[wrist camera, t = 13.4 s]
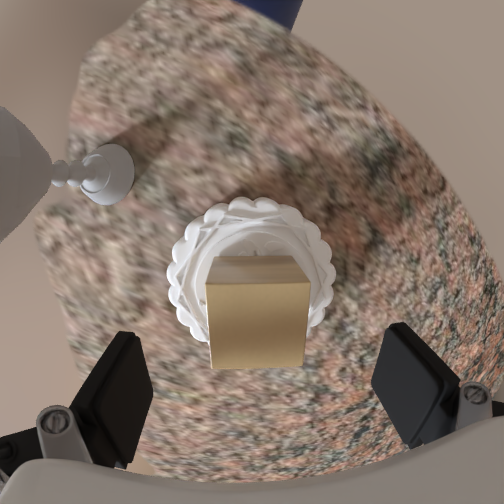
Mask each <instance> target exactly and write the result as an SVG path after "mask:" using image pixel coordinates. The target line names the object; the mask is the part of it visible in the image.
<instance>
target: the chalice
mask: <svg viewBox="0 0 504 504" xmlns="http://www.w3.org/2000/svg"><path fill="white" fill-rule="evenodd" d="M134 171H135V168H134V164H133V159H132V158H131V156H130V154H129V153H128V151H127V150H125V149H124V148H123V147H122V146H119V145H116V144H105V145H103V146H100V147H98V148H97V149H96V150H94V151H92V152H91V153H89V154H88V155H87V156H86V157H85V158H84V159H83V161H82V162H81V161H79V160H74V161H72V162H71V163H70V164H69V165H67V163H66V162H65V161H63V160H58V161H56V162H55V163H54V164H52V162H51V158H50V156H49V154H48V153H47V151H46V150H45V149H44V148H43V146H42V145H41V144H40V143H39V141H38V140H37V139H36V137H35V136H34V135H33V134H32V133H31V131H30V130H29V129H28V128H27V127H26V126H25V125H24V124H23V123H22V122H20V121H19V120H18V119H17V118H16V117H15V116H14V115H12V114H11V113H10V112H9V111H8V110H7V109H6V108H4V107H1V106H0V243H1V242H2V241H3V240H4V239H5V238H6V237H7V236H8V235H9V234H10V233H11V232H12V231H13V230H14V229H15V228H16V227H17V226H18V225H19V224H20V223H21V222H22V221H23V220H24V219H25V218H26V216H27V215H28V214H29V213H30V211H31V210H32V209H33V208H34V206H35V205H36V204H37V203H38V202H39V201H40V199H41V198H42V197H43V196H44V195H45V194H46V193H47V191H48V189H49V187H50V185H51V182H52V183H53V184H54V185H55V186H57V187H61V186H63V185H64V184H65V183H66V182H68V183H69V184H70V185H71V186H73V187H77V186H80V187H81V189H82V191H83V192H84V193H85V194H86V195H87V196H89V197H90V198H91V199H92V200H93V201H94V202H96V203H98V204H101V205H112V204H115V203H117V202H119V201H120V200H122V199H123V198H124V197H125V196H126V195H127V193H128V192H129V190H130V189H131V187H132V184H133V181H134Z"/></svg>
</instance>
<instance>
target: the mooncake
mask: <svg viewBox="0 0 504 504" xmlns="http://www.w3.org/2000/svg"><path fill="white" fill-rule="evenodd" d="M172 256H173V259H174V260H173V261H172V263H171V264H170V265H169V267H168V269H167V278H168V280H169V282H170V283H171V284H172V285H171V287H170V289H169V294H168V295H169V299H170V301H171V303H172V304H173V305H174V306H176V307H178V308H177V317H178V319H179V321H180V322H181V323H182V324H183V325H185V326H188V327H190V331H191V334H192V335H193V337H194V338H195V339H197V340H199V341H203V342H208V344H209V339H208V327H207V314H206V300H205V282H206V279H207V276H208V273H209V270H210V267H211V264H212V261H213V258H214V257H215V256H292V257H293V258H294V259H295V261H296V262H297V264H298V265H299V266H300V268H301V269H302V270H303V272H304V273H305V275H306V276H307V277H308V279H309V280H310V282H311V290H310V302H309V314H308V324H307V334H306V338H307V337H308V336H309V334H310V332H311V329H312V326H316V325H318V324H319V323H320V322H321V321H322V320H323V318H324V316H325V308H324V307H326V306H328V305H329V304H330V303H331V301H332V299H333V295H334V292H333V289H332V287H331V285H332V284H333V282H334V281H335V278H336V270H335V268H334V266H333V265H332V264H331V263H330V260H331V257H332V251H331V248H330V246H329V245H328V244H327V243H326V242H325V241H323V240H322V239H321V233H320V230H319V228H318V226H317V225H316V224H314V223H313V222H311V221H309V220H307V219H305V218H303V216H302V214H301V213H300V212H299V211H298V210H297V209H296V208H293V207H291V206H289V205H285V204H278V203H277V202H275V201H274V200H272V199H269V198H266V197H260V198H257V199H255V200H254V201H252V200H250V199H249V198H247V197H237V198H235V199H233V200H232V201H231V202H230V204H229V205H228V204H225V203H218V204H215V205H214V206H212V207H211V208H210V209H209V210H207V212H206V213H205V215H202V216H199V217H197V218H196V219H195V220H193V221H192V222H191V223H190V224H189V225H188V226H187V228H186V230H185V235H184V236H183V237H182V238H181V239H180V240H178V241H177V242H176V244H175V245H174V247H173V250H172Z"/></svg>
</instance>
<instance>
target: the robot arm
mask: <svg viewBox="0 0 504 504" xmlns="http://www.w3.org/2000/svg"><path fill="white" fill-rule="evenodd" d="M459 382H460V379H459V377H458V376H457V375H456V374H455V373H454V372H453V371H452V370H451V369H450V368H449V367H448V366H447V365H446V364H445V363H444V361H443V360H442V359H441V358H440V357H439V356H438V355H437V354H436V353H435V352H434V351H433V350H432V349H431V348H430V347H429V346H428V345H427V344H426V343H425V342H424V341H423V340H422V339H421V338H420V337H419V336H418V335H417V334H416V333H415V332H414V331H413V330H412V329H411V328H410V327H409V326H408V325H407V324H406V323H404V322H400V323H394V324H391V325H390V326H389V328H387V329H386V331H385V334H384V338H383V342H382V345H381V349H380V353H379V356H378V359H377V363H376V366H375V369H374V373H373V376H372V379H371V385H372V388H373V390H374V391H375V393H376V395H377V397H378V398H379V400H380V402H381V403H382V405H383V407H384V409H385V410H386V412H387V414H388V416H389V418H390V419H391V421H392V423H393V425H394V426H395V428H396V430H397V432H398V434H399V436H400V437H401V439H402V441H403V442H404V443H405V444H408V446H409V448H410V451H408V452H405V453H402V454H400V455H397V456H394V457H391V458H388V459H385V460H382V461H378V462H375V463H371V464H368V465H364V466H361V467H357V468H353V469H348V470H344V471H340V472H335V473H330V474H325V475H319V476H313V477H306V478H299V479H291V480H282V481H270V482H250V483H217V482H198V481H186V480H177V479H169V478H162V477H155V476H148V475H142V474H137V473H132V472H127V471H123V470H118V469H114V467H117V468H122V469H126V468H127V464H128V463H132V461H133V458H134V455H135V452H136V448H137V445H138V442H139V439H140V435H141V432H142V429H143V426H144V423H145V420H146V416H147V413H148V410H149V407H150V404H151V401H152V398H153V387H152V384H151V380H150V377H149V373H148V369H147V366H146V362H145V358H144V354H143V350H142V346H141V341H140V338H139V337H138V336H136V335H135V333H133V332H125V331H119V332H118V333H117V334H116V336H115V337H114V339H113V340H112V341H111V343H110V344H109V346H108V347H107V349H106V350H105V352H104V353H103V355H102V356H101V358H100V359H99V361H98V362H97V364H96V365H95V367H94V368H93V370H92V371H91V373H90V374H89V376H88V377H87V379H86V381H85V382H84V384H83V385H82V387H81V388H80V390H79V392H78V393H77V395H76V396H75V398H74V400H73V401H72V403H71V405H70V407H69V408H67V407H64V406H61V405H54V406H49V407H47V408H45V409H44V410H42V411H41V412H40V414H39V415H38V417H37V420H36V427H34V428H31V429H28V430H24V431H21V432H18V433H14V434H10V435H7V436H3V437H1V438H0V504H504V403H502V402H497V401H493V400H492V398H491V393H490V391H489V390H488V388H487V387H486V386H485V385H483V384H481V383H478V382H466V383H465V384H463V385H462V386H461V388H460V387H459V386H458V384H459ZM422 444H424V445H423V446H421V445H422ZM418 446H421V447H418ZM416 447H418V448H416ZM413 448H416V449H413ZM411 449H413V450H411Z"/></svg>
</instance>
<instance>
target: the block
mask: <svg viewBox="0 0 504 504" xmlns="http://www.w3.org/2000/svg"><path fill="white" fill-rule="evenodd" d="M310 290H311V282H310V280H309V279H308V277H307V276H306V275H305V273H304V272H303V270H302V269H301V268H300V266H299V265H298V264H297V262H296V261H295V259H294V258H293V257H292V256H215V257H214V258H213V261H212V264H211V267H210V270H209V273H208V276H207V279H206V282H205V300H206V314H207V327H208V339H209V350H210V360H211V368H212V369H254V368H277V367H293V366H302V365H303V360H304V352H305V343H306V334H307V324H308V314H309V302H310Z"/></svg>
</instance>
